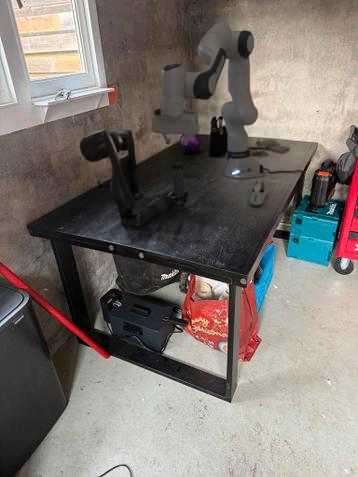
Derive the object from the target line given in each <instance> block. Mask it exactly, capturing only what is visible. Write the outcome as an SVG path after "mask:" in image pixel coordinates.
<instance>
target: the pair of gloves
mask: <svg viewBox="0 0 358 477" xmlns="http://www.w3.org/2000/svg"><path fill="white" fill-rule="evenodd" d="M255 145H257V146H253V145H248V147H247V149H249V150H251V151H252V152H253V154H252V155H250V156H252V157H254V156H258V155H265V156H268V155H269V153H268V152H267V151H266V150H271V151H274V152H277V153H279V154H280V153H281V154H283V153H287V152H289V151H290V150H291V147H289V146H283V145H281V144H280V143H279V142H277V141H276V140H274V139H271V138H270V139H265V140H262V141H260V140H258V139H257V140H256V142H255Z"/></svg>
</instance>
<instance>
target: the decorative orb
mask: <svg viewBox="0 0 358 477" xmlns="http://www.w3.org/2000/svg"><path fill="white" fill-rule="evenodd" d="M185 138H186V137H184V135H182V134H181V136H180V138H179V140H178V141H179V142H178V143H179V148H180V149H181V150H182V151H183V153H185V154H194V153H196V152H197V151H198V150H199V149H200V147H201V145H202V140H201V137H200V135H199V134H196V135H190V137H189V139H188V140H187V145H186V146H185V145H183V143H182V141H184V140H185Z"/></svg>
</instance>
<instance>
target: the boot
mask: <svg viewBox="0 0 358 477" xmlns="http://www.w3.org/2000/svg"><path fill="white" fill-rule="evenodd" d="M217 119H218V118H217V116H216V115H215V116H212V117H211V120H210V122H209V125H210V132H209V139H211V131H212V129H213V128H214V126H215V123H216V121H217ZM217 128H219V123H217V124H216V128H215V129H217ZM213 130H214V129H213Z"/></svg>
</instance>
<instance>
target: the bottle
mask: <svg viewBox="0 0 358 477" xmlns="http://www.w3.org/2000/svg"><path fill="white" fill-rule="evenodd" d="M172 180H173V192H174V196H177V195H179V196H180V195H182V194H184V193H185V187H184V186H185V185H184V184H185V183H184V173H183V170H182V169H173V173H172ZM180 199H181V198H180ZM185 208H186V206H185V204H184V206H181V205H180V204H177V205H176V206H174V209H175V211H180V212H181V211H184V210H185Z"/></svg>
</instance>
